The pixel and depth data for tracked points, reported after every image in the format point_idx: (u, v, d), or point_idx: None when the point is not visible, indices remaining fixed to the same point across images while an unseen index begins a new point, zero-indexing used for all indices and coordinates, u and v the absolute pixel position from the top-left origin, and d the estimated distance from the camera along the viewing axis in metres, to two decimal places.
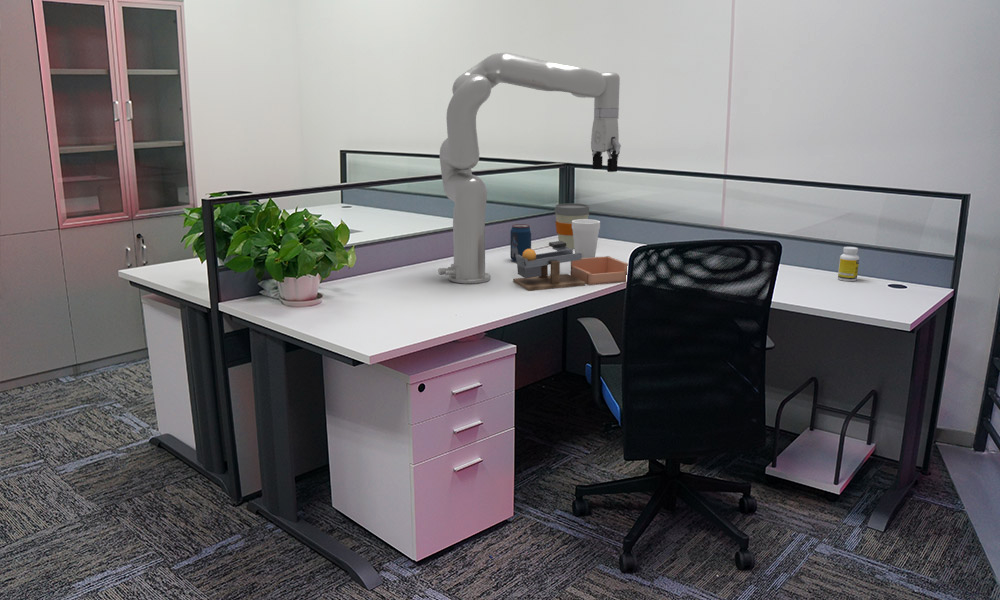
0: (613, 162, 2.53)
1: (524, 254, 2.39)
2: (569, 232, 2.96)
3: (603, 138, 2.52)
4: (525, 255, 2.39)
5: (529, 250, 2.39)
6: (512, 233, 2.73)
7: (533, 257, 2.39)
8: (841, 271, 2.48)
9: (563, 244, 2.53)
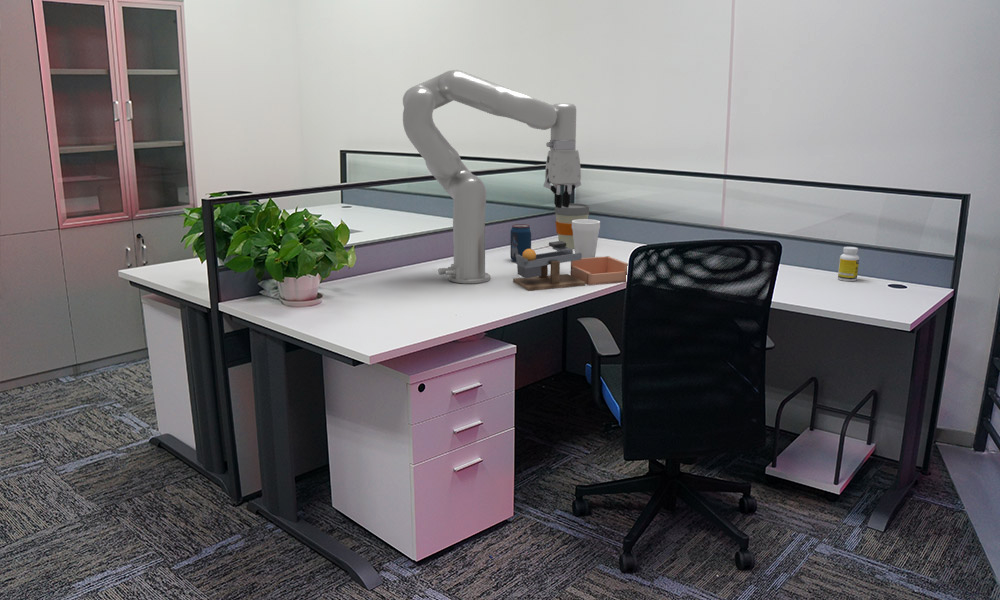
0: None
1: (524, 254, 2.39)
2: (569, 232, 2.96)
3: (577, 170, 2.48)
4: (525, 255, 2.39)
5: (529, 250, 2.39)
6: (512, 233, 2.73)
7: (533, 257, 2.39)
8: (841, 271, 2.48)
9: (563, 244, 2.53)
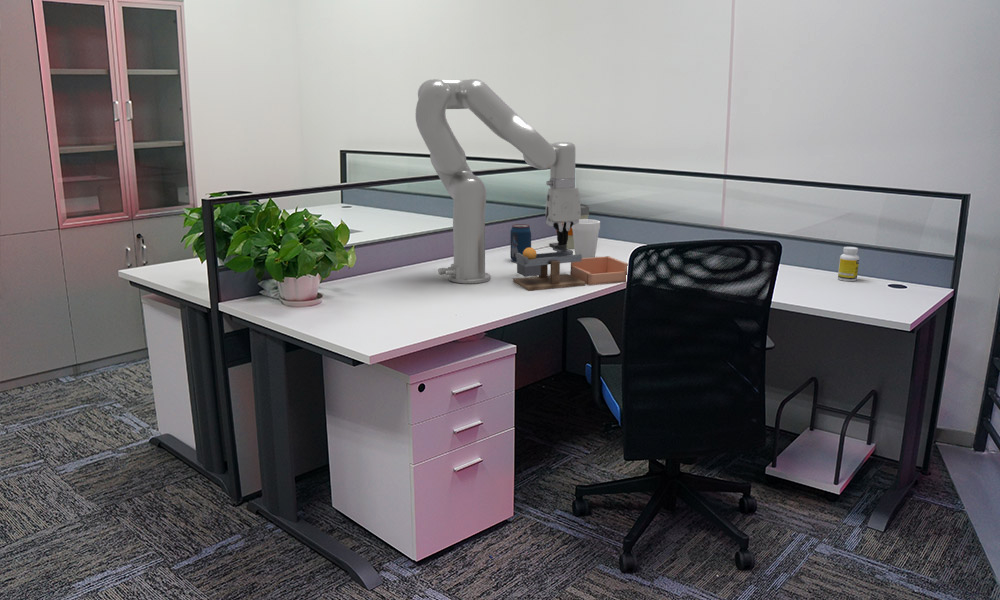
0: None
1: (525, 252, 2.39)
2: (569, 232, 2.96)
3: (577, 207, 2.51)
4: (525, 253, 2.39)
5: (530, 249, 2.39)
6: (512, 233, 2.73)
7: (533, 256, 2.39)
8: (841, 271, 2.48)
9: (563, 245, 2.53)
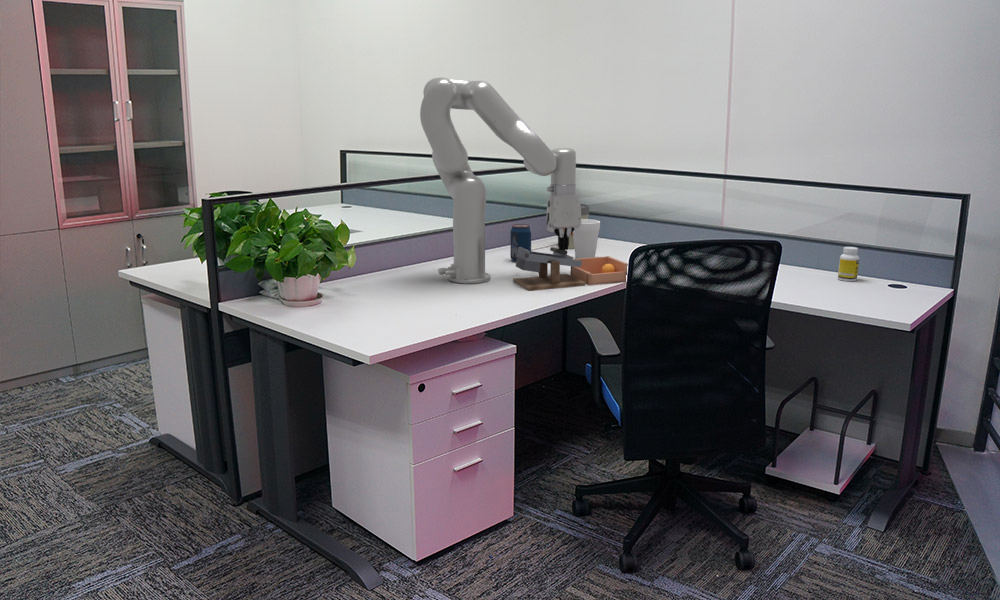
0: None
1: (609, 264, 2.50)
2: None
3: (578, 213, 2.51)
4: (609, 265, 2.50)
5: None
6: (512, 233, 2.73)
7: None
8: (841, 271, 2.48)
9: (564, 251, 2.54)
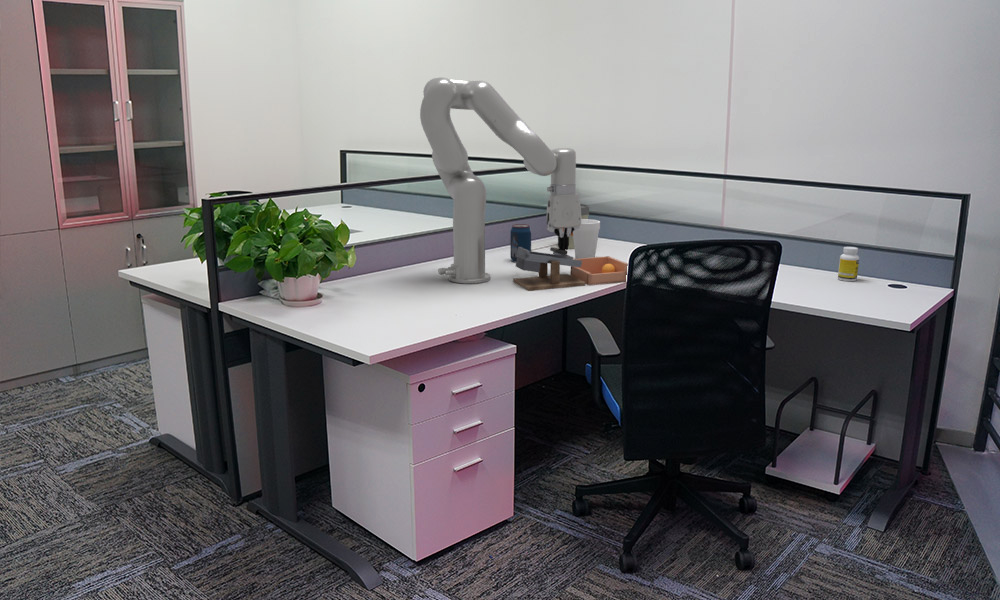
0: None
1: (610, 264, 2.50)
2: None
3: (578, 213, 2.51)
4: (610, 265, 2.50)
5: (614, 268, 2.51)
6: (512, 233, 2.73)
7: None
8: (841, 271, 2.48)
9: (564, 251, 2.54)
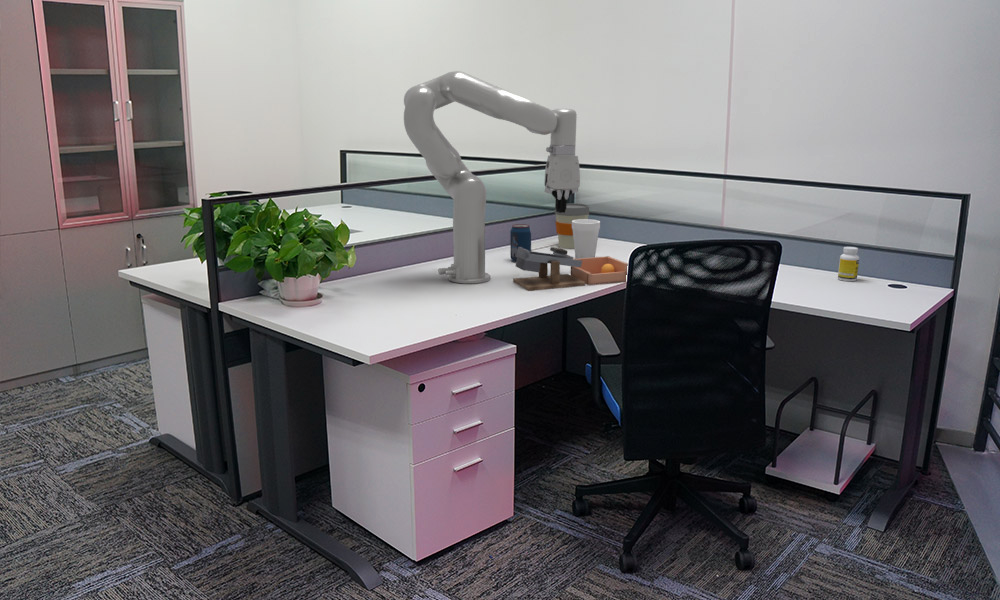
0: None
1: (608, 264, 2.50)
2: (569, 232, 2.96)
3: (576, 175, 2.48)
4: (609, 265, 2.50)
5: (613, 267, 2.51)
6: (512, 233, 2.73)
7: None
8: (841, 271, 2.48)
9: (564, 251, 2.54)
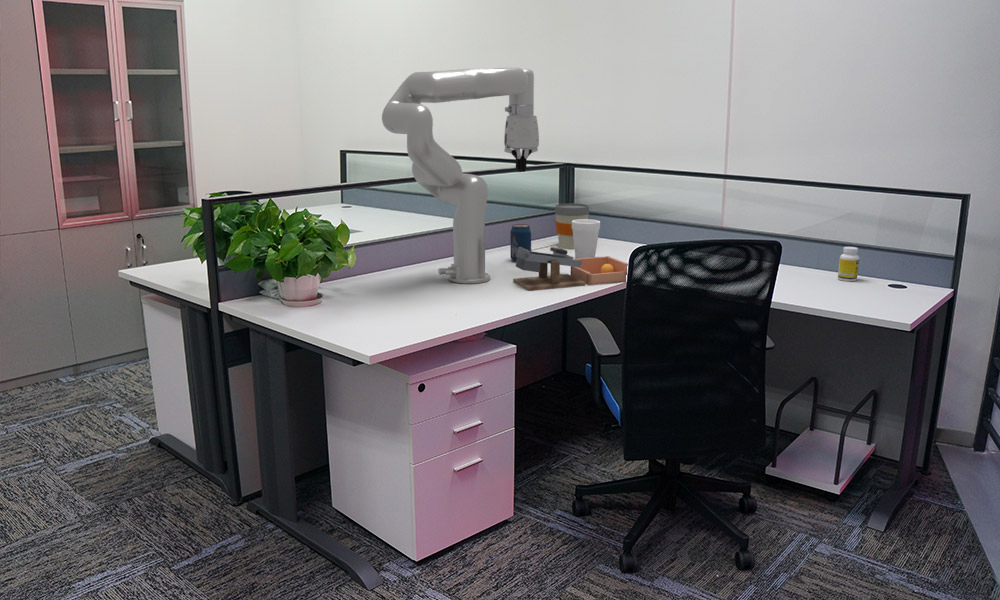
0: None
1: (607, 264, 2.50)
2: (569, 232, 2.96)
3: (535, 134, 2.53)
4: (607, 265, 2.50)
5: (612, 267, 2.51)
6: (512, 233, 2.73)
7: None
8: (841, 271, 2.48)
9: (564, 251, 2.54)
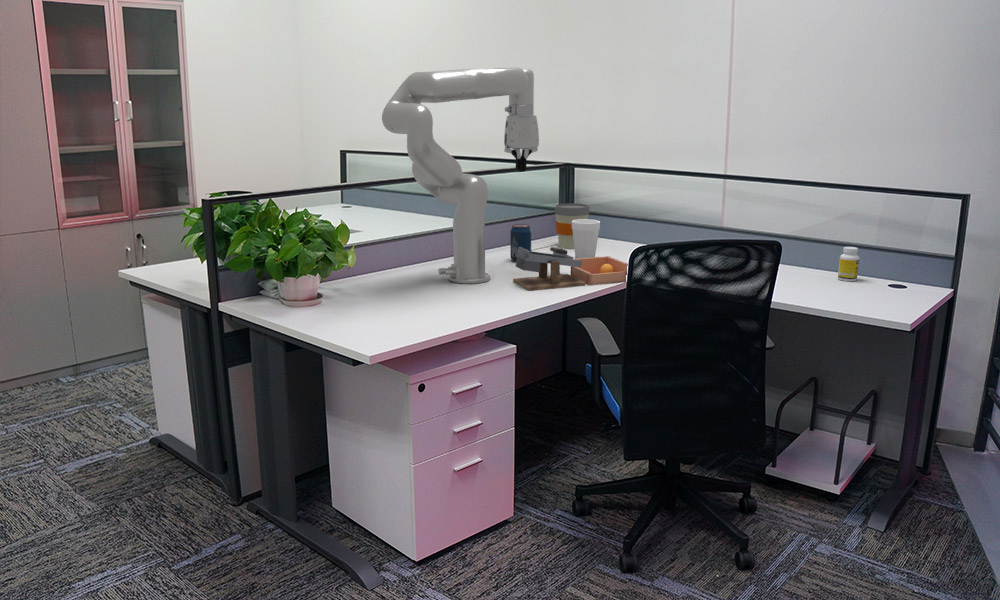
0: None
1: (606, 265, 2.50)
2: (569, 232, 2.96)
3: (535, 134, 2.53)
4: (607, 266, 2.50)
5: None
6: (512, 233, 2.73)
7: None
8: (841, 271, 2.48)
9: (564, 251, 2.54)
